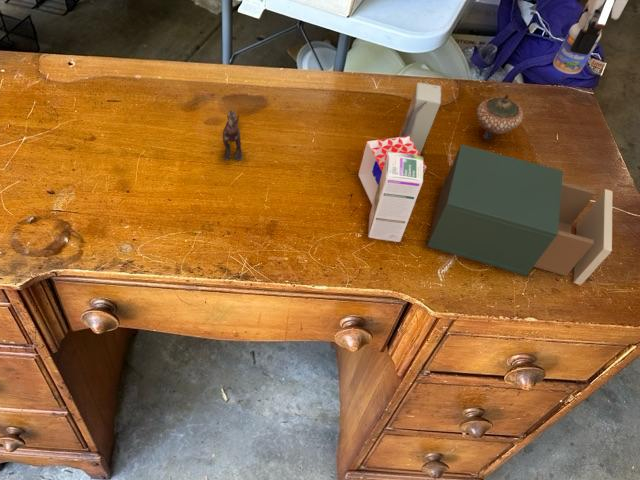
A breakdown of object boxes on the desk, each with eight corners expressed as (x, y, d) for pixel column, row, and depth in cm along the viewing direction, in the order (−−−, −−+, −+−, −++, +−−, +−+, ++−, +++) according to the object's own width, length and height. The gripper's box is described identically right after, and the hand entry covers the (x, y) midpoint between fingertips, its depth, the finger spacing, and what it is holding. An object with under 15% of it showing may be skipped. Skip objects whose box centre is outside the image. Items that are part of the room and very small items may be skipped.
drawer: (590, 229, 99) (620, 192, 92) (588, 287, 92) (620, 253, 84) (493, 202, 102) (514, 165, 94) (484, 256, 95) (506, 221, 87)
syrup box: (400, 243, 97) (426, 181, 85) (366, 238, 97) (386, 175, 85) (401, 218, 100) (425, 155, 88) (367, 213, 101) (387, 150, 89)
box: (398, 137, 112) (416, 80, 101) (420, 141, 112) (441, 84, 101) (396, 155, 109) (415, 98, 98) (419, 159, 109) (441, 102, 98)
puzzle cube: (413, 199, 103) (426, 166, 96) (372, 205, 102) (382, 172, 95) (397, 169, 107) (409, 135, 101) (358, 174, 106) (367, 140, 99)
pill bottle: (548, 68, 109) (573, 18, 101) (557, 55, 111) (582, 5, 103) (577, 78, 107) (605, 28, 99) (585, 64, 109) (613, 15, 101)
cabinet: (533, 214, 102) (563, 170, 93) (526, 276, 94) (557, 234, 85) (440, 189, 104) (461, 144, 96) (426, 246, 97) (447, 203, 88)
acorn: (510, 131, 114) (533, 88, 106) (506, 157, 110) (529, 114, 101) (469, 120, 116) (489, 77, 107) (463, 145, 111) (483, 102, 103)
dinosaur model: (223, 116, 96) (227, 68, 105) (220, 171, 105) (223, 122, 114) (247, 118, 96) (248, 70, 105) (241, 173, 105) (243, 124, 114)
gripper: (665, -36, 85) (600, 73, 100) (660, -82, 94) (601, 24, 109) (612, -45, 86) (555, 64, 101) (612, -90, 96) (560, 16, 110)
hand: (580, 42), depth 105 cm, fingers closed on pill bottle, 5 cm apart
